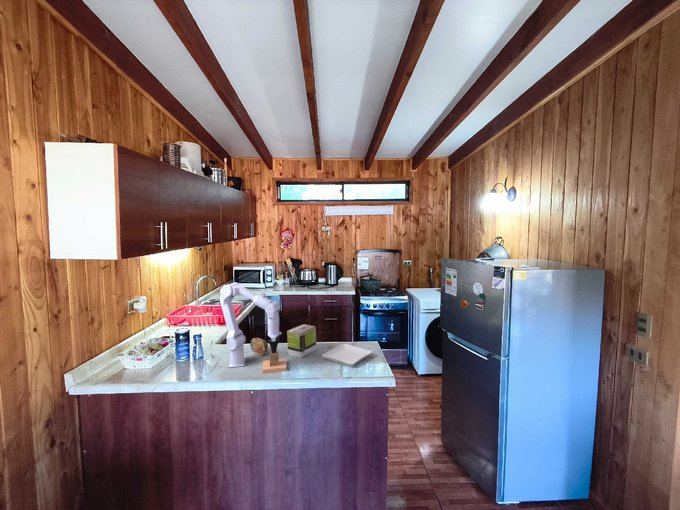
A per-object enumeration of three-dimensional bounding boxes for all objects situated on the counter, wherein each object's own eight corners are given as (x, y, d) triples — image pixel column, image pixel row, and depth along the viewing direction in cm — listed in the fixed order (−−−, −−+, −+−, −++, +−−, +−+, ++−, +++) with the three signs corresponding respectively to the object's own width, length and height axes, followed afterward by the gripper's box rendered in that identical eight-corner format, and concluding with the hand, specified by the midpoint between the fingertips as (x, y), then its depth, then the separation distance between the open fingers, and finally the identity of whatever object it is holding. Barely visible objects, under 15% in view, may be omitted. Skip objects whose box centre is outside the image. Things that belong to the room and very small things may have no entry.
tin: (250, 350, 196) (249, 336, 195) (254, 349, 198) (254, 335, 197) (264, 356, 185) (264, 342, 185) (269, 355, 188) (268, 341, 187)
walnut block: (270, 362, 172) (269, 351, 172) (278, 361, 173) (278, 351, 173) (269, 366, 168) (269, 355, 168) (278, 365, 169) (278, 354, 168)
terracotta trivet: (263, 364, 176) (263, 360, 176) (285, 362, 178) (285, 358, 178) (262, 374, 164) (262, 369, 164) (286, 372, 166) (286, 367, 166)
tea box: (304, 347, 200) (303, 323, 199) (317, 350, 194) (316, 326, 193) (287, 355, 187) (286, 330, 186) (300, 358, 182) (299, 333, 181)
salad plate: (352, 370, 167) (352, 363, 167) (320, 360, 180) (320, 354, 179) (373, 356, 184) (373, 350, 184) (343, 348, 197) (343, 343, 196)
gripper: (281, 328, 163) (282, 354, 164) (280, 320, 177) (281, 344, 178) (266, 329, 162) (267, 355, 163) (267, 321, 176) (268, 345, 177)
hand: (274, 350), depth 170 cm, fingers open, 7 cm apart
